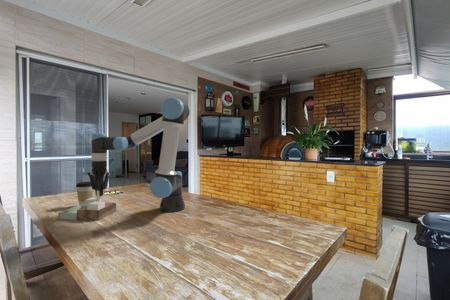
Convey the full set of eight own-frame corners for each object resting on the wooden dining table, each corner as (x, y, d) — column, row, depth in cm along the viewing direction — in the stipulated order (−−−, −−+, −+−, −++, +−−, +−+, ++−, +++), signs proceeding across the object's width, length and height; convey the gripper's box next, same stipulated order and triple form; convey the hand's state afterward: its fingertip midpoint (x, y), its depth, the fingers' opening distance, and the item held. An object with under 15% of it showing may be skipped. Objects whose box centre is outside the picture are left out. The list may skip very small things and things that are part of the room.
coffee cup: (97, 204, 150) (97, 181, 149) (87, 208, 140) (86, 184, 140) (83, 203, 151) (83, 181, 150) (72, 208, 141) (71, 183, 141)
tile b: (105, 207, 125) (105, 201, 125) (98, 210, 119) (97, 204, 119) (94, 206, 126) (94, 201, 126) (87, 209, 120) (87, 204, 120)
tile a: (101, 203, 134) (101, 197, 134) (94, 205, 128) (94, 200, 128) (92, 202, 134) (91, 197, 134) (84, 205, 128) (84, 200, 128)
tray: (97, 210, 136) (97, 204, 136) (76, 219, 119) (76, 213, 119) (81, 210, 137) (81, 204, 136) (58, 219, 120) (58, 212, 120)
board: (116, 211, 134) (116, 202, 134) (98, 220, 118) (98, 210, 118) (96, 210, 135) (96, 202, 135) (77, 219, 119) (76, 210, 119)
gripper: (113, 160, 133) (114, 200, 134) (92, 159, 134) (93, 199, 135) (106, 161, 126) (106, 203, 126) (83, 160, 127) (84, 202, 127)
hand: (99, 201), depth 131 cm, fingers closed
